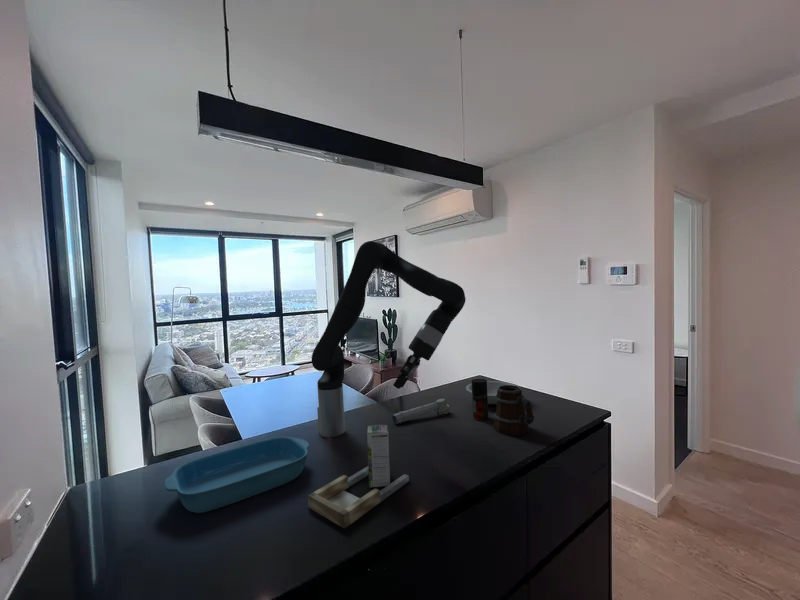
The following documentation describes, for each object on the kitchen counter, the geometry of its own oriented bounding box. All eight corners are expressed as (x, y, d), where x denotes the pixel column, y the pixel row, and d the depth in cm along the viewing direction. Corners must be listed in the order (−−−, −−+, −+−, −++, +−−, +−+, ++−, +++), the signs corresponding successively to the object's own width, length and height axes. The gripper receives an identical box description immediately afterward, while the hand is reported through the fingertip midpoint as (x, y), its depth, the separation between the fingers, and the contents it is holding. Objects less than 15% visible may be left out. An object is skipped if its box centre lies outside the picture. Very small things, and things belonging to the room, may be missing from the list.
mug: (487, 428, 126) (485, 387, 126) (510, 420, 132) (508, 381, 132) (522, 442, 112) (520, 397, 112) (546, 433, 118) (544, 390, 118)
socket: (344, 485, 92) (343, 474, 92) (380, 502, 84) (379, 490, 84) (308, 507, 83) (308, 495, 83) (344, 528, 75) (343, 515, 75)
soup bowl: (480, 414, 141) (479, 398, 141) (458, 397, 164) (458, 383, 164) (532, 407, 146) (532, 391, 146) (504, 392, 169) (504, 378, 169)
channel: (374, 467, 101) (373, 462, 101) (408, 481, 93) (408, 475, 93) (344, 485, 92) (344, 480, 92) (380, 502, 84) (379, 496, 84)
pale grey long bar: (390, 412, 137) (443, 394, 147) (393, 428, 137) (445, 409, 147) (395, 416, 132) (449, 397, 142) (398, 433, 132) (452, 412, 143)
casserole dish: (294, 450, 116) (293, 429, 116) (323, 475, 99) (322, 450, 99) (162, 493, 93) (161, 467, 93) (170, 536, 76) (168, 504, 76)
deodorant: (491, 417, 136) (489, 379, 136) (483, 421, 132) (482, 383, 132) (477, 414, 140) (476, 377, 140) (470, 418, 136) (468, 381, 136)
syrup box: (369, 476, 96) (366, 425, 96) (390, 474, 96) (387, 423, 96) (369, 488, 90) (366, 433, 90) (391, 486, 91) (388, 431, 91)
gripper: (417, 337, 114) (391, 379, 112) (414, 332, 100) (383, 380, 98) (436, 349, 112) (410, 392, 111) (436, 346, 99) (405, 395, 97)
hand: (397, 386), depth 105 cm, fingers open, 8 cm apart
